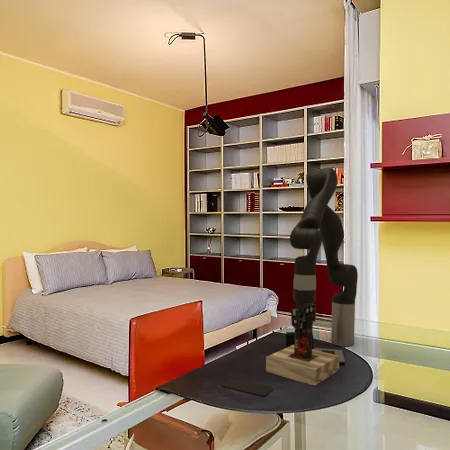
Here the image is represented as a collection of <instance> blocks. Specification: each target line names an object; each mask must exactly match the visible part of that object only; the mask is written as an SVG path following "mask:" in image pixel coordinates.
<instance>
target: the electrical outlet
mask: <svg viewBox="0 0 450 450" xmlns="http://www.w3.org/2000/svg"><path fill="white" fill-rule="evenodd" d="M313 350H317V351H321V352H325V353H329V354H334V355H338V356H339V364H345V363H346V360H345V356H344V353H343V350H342V349H334V348H333V349H332V348H330V349H329V348H319V347H313Z"/></svg>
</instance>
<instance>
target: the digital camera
mask: <svg viewBox="0 0 450 450" xmlns="http://www.w3.org/2000/svg"><path fill="white" fill-rule="evenodd" d="M285 333H286V335H285V348H287V347H290V346H292V345H294V340H295V331H286V332H285ZM312 350H314V333H312Z"/></svg>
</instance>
